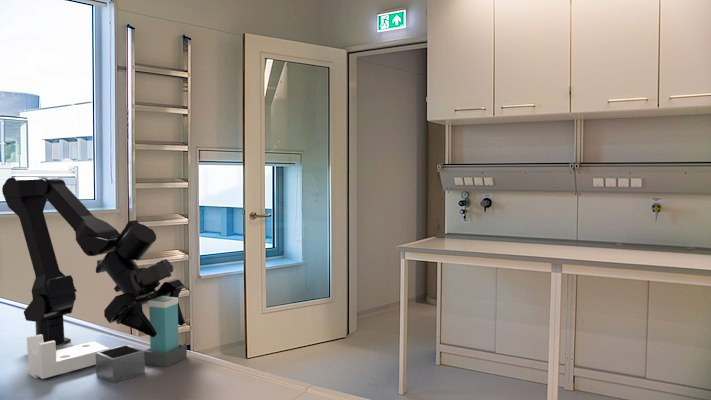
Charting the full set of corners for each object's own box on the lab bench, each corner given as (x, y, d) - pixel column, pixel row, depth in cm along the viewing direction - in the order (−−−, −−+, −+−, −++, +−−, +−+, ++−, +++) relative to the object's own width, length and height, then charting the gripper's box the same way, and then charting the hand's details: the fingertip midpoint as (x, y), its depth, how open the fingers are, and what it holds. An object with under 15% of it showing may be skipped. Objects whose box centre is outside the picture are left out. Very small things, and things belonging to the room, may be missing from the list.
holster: (143, 362, 118) (142, 351, 117) (163, 353, 123) (163, 342, 123) (167, 366, 115) (166, 354, 115) (186, 356, 121) (186, 345, 121)
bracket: (42, 383, 108) (40, 344, 107) (28, 374, 112) (26, 337, 112) (109, 365, 117) (108, 329, 117) (94, 357, 122) (93, 323, 122)
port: (96, 375, 111) (95, 352, 111) (127, 365, 116) (126, 344, 116) (113, 383, 107) (112, 359, 106) (144, 373, 112) (144, 350, 111)
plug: (150, 362, 118) (148, 300, 117) (163, 355, 122) (162, 296, 121) (166, 364, 117) (164, 302, 116) (179, 357, 120) (178, 297, 120)
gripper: (113, 256, 111) (160, 316, 107) (175, 243, 128) (218, 295, 125) (84, 292, 114) (129, 352, 111) (149, 275, 131) (189, 327, 128)
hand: (169, 329), depth 118 cm, fingers open, 8 cm apart
